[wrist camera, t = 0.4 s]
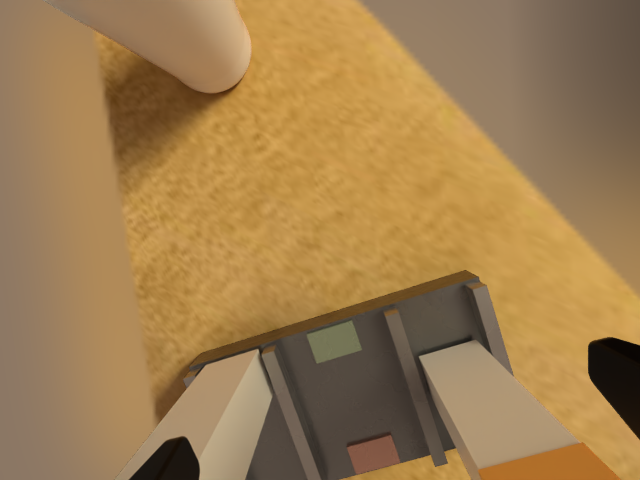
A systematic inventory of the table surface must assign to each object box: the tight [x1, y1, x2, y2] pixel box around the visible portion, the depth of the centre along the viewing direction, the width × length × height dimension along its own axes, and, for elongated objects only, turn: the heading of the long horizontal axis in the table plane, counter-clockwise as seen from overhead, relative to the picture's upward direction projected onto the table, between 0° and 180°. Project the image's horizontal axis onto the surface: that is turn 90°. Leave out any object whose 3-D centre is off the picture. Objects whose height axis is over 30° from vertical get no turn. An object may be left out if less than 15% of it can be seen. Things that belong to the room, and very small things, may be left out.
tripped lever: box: [419, 340, 621, 480], centre depth 15 cm, size 3×4×12 cm
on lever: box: [114, 349, 274, 480], centre depth 15 cm, size 3×4×12 cm
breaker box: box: [183, 270, 514, 480], centre depth 22 cm, size 10×19×3 cm, turn 109°
